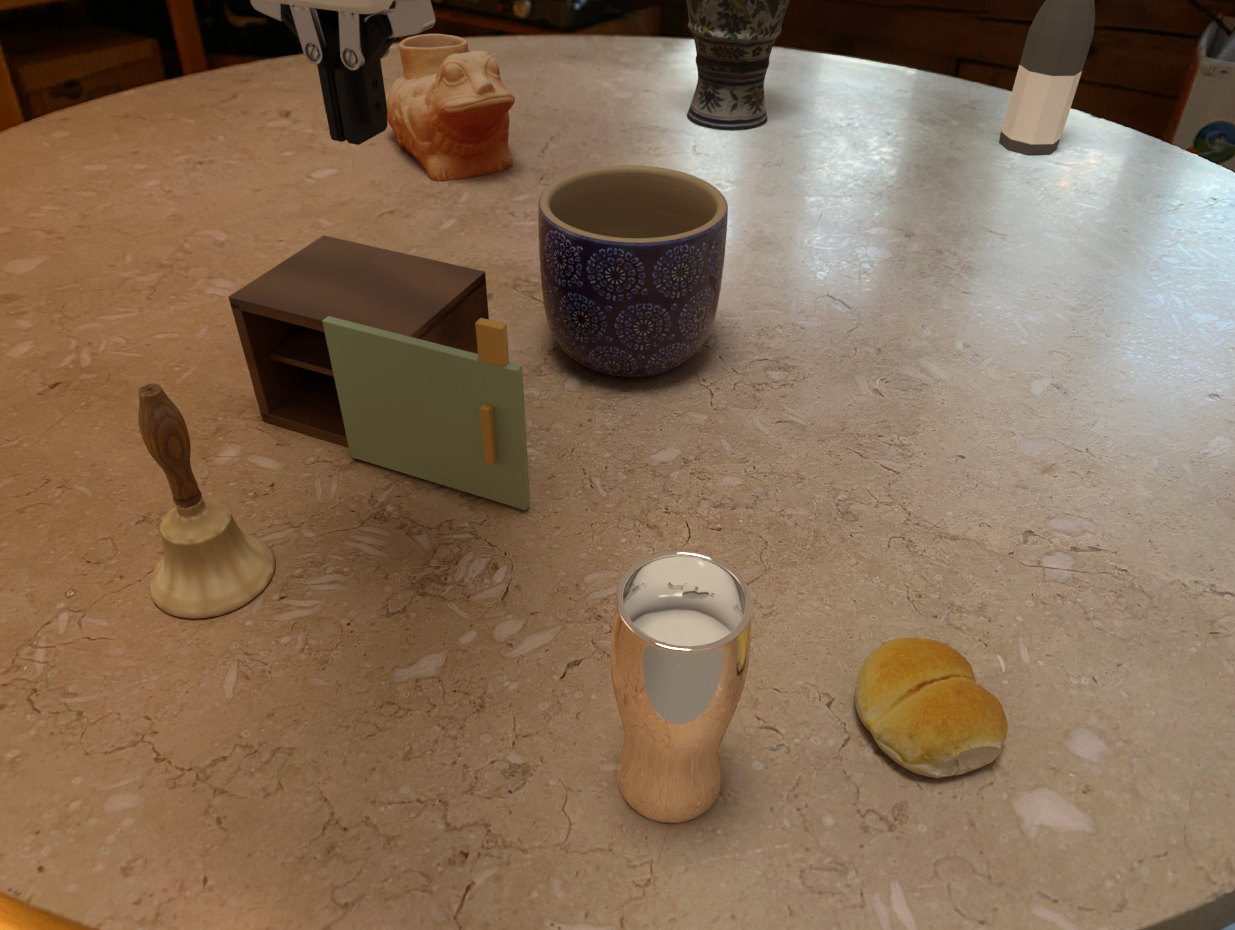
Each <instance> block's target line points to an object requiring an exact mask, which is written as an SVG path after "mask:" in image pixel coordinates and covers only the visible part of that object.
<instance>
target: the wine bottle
mask: <svg viewBox="0 0 1235 930" xmlns="http://www.w3.org/2000/svg"><path fill="white" fill-rule="evenodd" d="M1095 3H1096V2H1095V0H1044V2H1043V3H1042V5H1041V6H1040V7H1039V9H1038V11H1037V13H1036V15H1035V16H1034V19H1033V20H1032V23H1031V24H1030V27H1029V29H1028V32H1027V36H1026V39H1025V43H1024V46H1023V51H1022V54H1021V58H1020V61H1019V65H1018V69H1017V72H1016V76H1015V80H1014V83H1013V87H1012V90H1011V94H1010V98H1009V101H1008V106H1007V108H1006V113H1005V116H1004V120H1003V124H1002V127H1001V130H1000V134H999V139H998V140H999V141H998V143H999V144H1000V145H1002V146H1003V147H1004V148H1005V149H1006V150H1007V151H1011V152H1014V153H1018V154H1023V155H1027V156H1050V155H1051V154H1053V152H1055V151H1056V150H1057V149H1058V147H1059V145H1060V142H1061V139H1062V136H1063V133H1064V129H1065V126H1066V124H1067V121H1068V117H1069V114H1070V111H1071V108H1072V104H1073V103H1074V102H1073V101H1074V98H1075V95H1076V92H1077V89H1078V85H1079V82H1080V80H1081V76H1082V73H1083V70H1084V67H1085V63H1086V60H1087V57H1088V54H1089V50H1090V47H1091V44H1092V41H1093V38H1094V33H1095V23H1096V7H1095V5H1096V4H1095Z"/></svg>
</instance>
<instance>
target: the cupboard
mask: <svg viewBox="0 0 1235 930" xmlns="http://www.w3.org/2000/svg"><path fill="white" fill-rule="evenodd" d="M227 297H228V300H229V305H230V308H231V312H232V316H233V319H234V322H235V326H236V329H237V334H238V337H239V341H240V345H241V348H242V351H243V355H244V358H245V362H246V366H247V369H248V373H249V377H250V380H251V383H252V387H253V392H254V395H255V398H256V402H257V405H258V409H259V412H260V416H261V419H262V422H264V423H268V424H270V425H274V426H278V427H281V428H284V429H288V430H290V431H294V432H297V433H301V434H304V435H308V436H310V437H314V438H317V439H320V440H324V441H327V442H331V443H334V444H337V445H340V446H344V447H346V448H349V446H348V441H347V436H346V432H345V427H344V422H343V417H342V413H341V408H340V403H339V398H338V393H337V389H336V384H335V379H334V374H333V370H332V365H331V360H330V355H329V350H328V346H327V341H326V336H325V331H324V327H323V322H322V321H323V320H324V319H325V318H327V317H328V316H331V317H334V318H338V319H342V320H346V321H350V322H354V323H358V324H362V325H366V326H370V327H374V328H378V329H381V330H385V331H389V332H393V333H397V334H401V335H405V336H409V337H413V338H417V339H421V340H425V341H428V342H432V343H436V344H440V345H444V346H448V347H452V348H456V349H460V350H464V351H468V352H472V353H476V354H478V348H477V337H476V326H475V323H476V322H477V321H478V320H479V319H480V318H484V319H488V320H490V315H489V303H488V301H489V300H488V290H487V277H486V271H484V270H480V269H476V268H470V267H467V266H461V265H458V264H453V263H449V262H444V261H440V260H435V259H431V258H427V257H422V256H418V255H412V254H409V253H404V252H400V251H395V250H390V249H386V248H382V247H377V246H373V245H368V244H364V243H359V242H355V241H351V240H348V239H347V240H346V239H342V238H337V237H333V236H329V235H322V236H320V237H319V238H317V239H316V240H314V241H313V242H310V243H309V244H308V245H307V246H305V247H304V248H302V249H300V250H299V251H297V252H296V253H294V254H292V255H291V256H289V257H288V258H286V259H284V260H283V261H281V262H279V263H278V264H277V265H275V266H274V267H272V268H271V269H269V270H268V271H266V272H264V273H263V274H261V275H260V276H257V278H255V279H253V280H252V281H251V282H249V283H247V284H246V285H244V286H242V287H240V289H238V290H236V291H235V292H233V293H231V294H230V295H229V296H227Z"/></svg>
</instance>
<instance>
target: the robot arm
mask: <svg viewBox="0 0 1235 930" xmlns="http://www.w3.org/2000/svg"><path fill="white" fill-rule="evenodd" d="M249 1H250V5H251V6H252V8H253V9H254V10H255V11H257V12H259V13H261V14H263V15H265V16H268V17H270V18H272V19H274V20H277V21H279V22H283V23H284V25H286V27H287V28H288V29H289V30H290V31H291V32H292V34H293V35H294V36H295V37H296V38H297V39H298V40H299V43H300V45H301V46H300V47H301V49H302V52H303V56H304V57H305V59H306V60H307V61H308V63H310V64H312V65H316V67H317V71H318V78H319V82H320V89H321V93H322V99H323V106H324V111H325V114H326V121H327V125H328V131H329V137H330V138H331V140H332V141H335V142H340V143H343V142H347V143H348V144H350V145H351V144H352V145H356V146H359V145H361V144H364V143H365V142H367V141H369V140H371V139H372V138H375V137H376V136H378V135H380V134H381V133H384V132H385V131H386V130H387V128H388V125H389V123H388V121H387V114H388V112H387V103H386V96H387V95H386V89H385V82H384V76H383V75H384V74H383V68H382V59H383V58H386V57H387V56H388V55H389V53H390V51H391V47H392V45H393V44H394V43H395V41H396V40H397V39H398V38H401V37H408V36H415V35H419V34H421V33H423V32H425V31H428V30H430V29H431V28H433V27H434V26H435V24H436V15H435V11H434V8H433V5H432V1H431V0H249ZM393 2H395V6H394V8H391V6H392V4H393Z"/></svg>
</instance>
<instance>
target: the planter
mask: <svg viewBox="0 0 1235 930" xmlns="http://www.w3.org/2000/svg"><path fill="white" fill-rule="evenodd" d="M537 210H538V211H537V213H538V215H537V217H538V218H537V221H538V223H537V226H538V254H539V268H540V269H539V270H540V283H541V284H540V285H541V293H542V301H543V307H544V308H543V309H544V313H545V318H546V322H547V325H548V328H549V332H550V333H551V335H552V336H553V338H554V340H555V341H556V342H557V344H558V345H559V347H560V348H561V350H563V351H564V353H565V354H567V355H568V356H569V357H570V358H572V359H573V360H574V361H575V362H577V363H578V364H579V365H581V366H583V367H585V368H587V369H590V370H592V371H595V372H598V373H600V374H605V375H608V376H614V377H621V378H641V377H650V376H654V375H658V374H661V373H665V372H668V371H671V370H673V369H675V368H677V367H679V366H680V365H682V364H684V363H685V362H686V361H688V360H689V359H691V358H692V357H693V356H694V355H695V354H696V353H697V352H698V351H699V350H700V349H701V348H702V347H703V345H704V344H705V342H706V341H707V339H708V338H709V336H710V334H711V331H712V328H713V326H714V323H715V320H716V315H717V310H718V305H719V300H720V296H721V289H722V283H723V282H722V281H723V272H724V266H725V265H724V264H725V256H726V246H727V245H726V244H727V234H728V217H729V215H728V214H729V206H728V201H727V199H726V197H725V196H724V194H723V193H722V192H721V191H720V190H719V189H718V188H717V187H716V186H714V185H713V184H712V183H710V182H708V181H706V180H704V179H702V178H700V177H698V176H695V175H692V174H689V173H686V172H683V171H680V170H675V169H671V168H665V167H661V166H660V167H658V166H651V165H635V164H634V165H633V164H631V165H630V164H628V165H627V164H626V165H622V164H621V165H608V166H607V165H606V166H600V167H592V168H588V169H584V170H579V171H575V172H573V173H569V174H567V175H565V176H563V177H560V178H558V179H557V180H555V181H554V182H552V183H550V184H549V185H548V186H547V187H546V188H545V189H544V190H543V191H542V192H541V195H540V196H539V200H538V209H537Z"/></svg>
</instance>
